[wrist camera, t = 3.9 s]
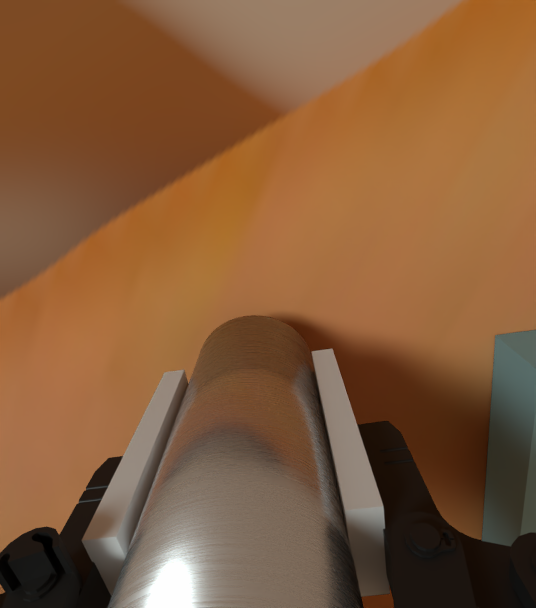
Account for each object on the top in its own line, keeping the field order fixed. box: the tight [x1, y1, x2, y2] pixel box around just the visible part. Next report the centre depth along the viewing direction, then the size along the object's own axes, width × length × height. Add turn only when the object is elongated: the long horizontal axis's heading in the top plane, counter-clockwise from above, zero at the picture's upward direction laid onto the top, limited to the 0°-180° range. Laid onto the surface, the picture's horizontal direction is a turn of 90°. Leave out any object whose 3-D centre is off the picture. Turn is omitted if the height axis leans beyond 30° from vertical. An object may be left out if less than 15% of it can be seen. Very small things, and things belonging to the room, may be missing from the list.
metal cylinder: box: [107, 315, 363, 608], centre depth 10 cm, size 5×5×12 cm
